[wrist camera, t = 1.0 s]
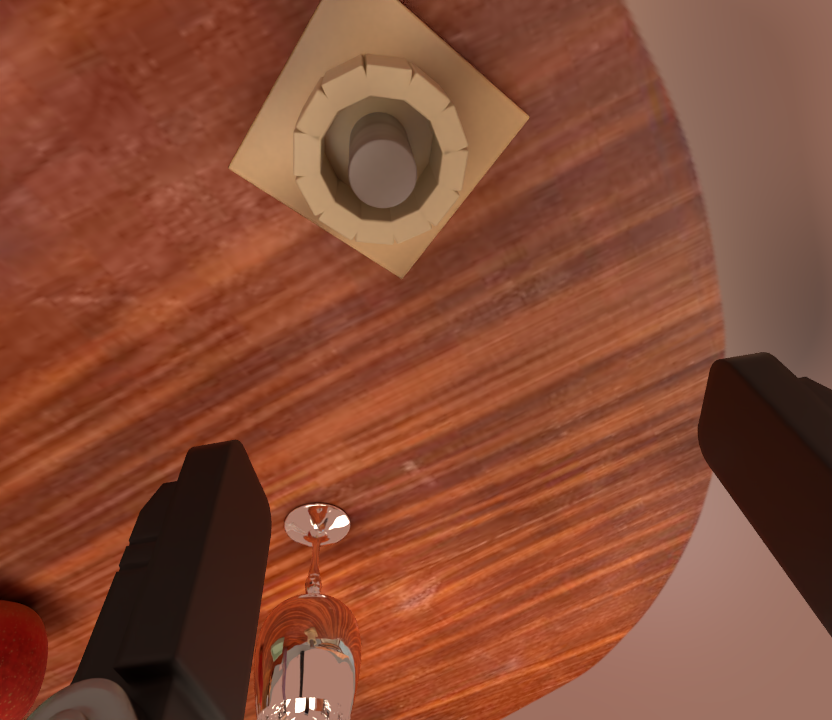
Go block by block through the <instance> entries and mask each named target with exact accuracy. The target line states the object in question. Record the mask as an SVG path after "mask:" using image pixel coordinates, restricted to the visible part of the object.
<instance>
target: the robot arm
mask: <svg viewBox="0 0 832 720" xmlns="http://www.w3.org/2000/svg"><path fill="white" fill-rule="evenodd" d="M698 440H699V445H700V448H701V451H702V454H703V456H704V458H705V460H706V462H707V463H708V465H709V466H710V468H711V469H712V471H713V472H714V473H715V475H716V476H717V478H718V479H719V480H720V482H721V483H722V485H723V486H724V487H725V489H726V490H727V491H728V493H729V494H730V496H731V497H732V499H733V500H734V501H735V503H736V504H737V505H738V507H739V508H740V510H741V511H742V512H743V514H744V515H745V517H746V518H747V519H748V521H749V522H750V524H751V525H752V526H753V528H754V529H755V531H756V532H757V533H758V535H759V536H760V538H761V539H762V540H763V542H764V543H765V545H766V546H767V547H768V549H769V550H770V552H771V553H772V554H773V556H774V557H775V559H776V560H777V561H778V563H779V564H780V566H781V567H782V568H783V570H784V571H785V572H786V574H787V575H788V577H789V578H790V579H791V581H792V582H793V584H794V585H795V587H796V588H797V589H798V591H799V592H800V593H801V595H802V596H803V598H804V599H805V600H806V602H807V603H808V605H809V606H810V607H811V609H812V610H813V612H814V613H815V614H816V616H817V617H818V619H819V620H820V621H821V623H822V624H823V626H824V627H825V628H826V630H827V631H828V633H829V634H830V635H831V637H832V390H831V389H829V388H827V387H825V386H823V385H821V384H819V383H817V382H815V381H813V380H811V379H809V378H807V377H802V378H797V377H796V376H795V375H794V374H793V373H792V372H791V371H790V370H789V369H788V368H786V367H785V366H784V365H783V364H782V363H781V362H780V361H779V360H778V359H777V358H776V357H774V356H773V355H771V354H769V353H766V352H760V353H755V354H749V355H743V356H737V357H731V358H725V359H719V360H716V361H715V362H714V363H713V364H712V366H711V369H710V372H709V377H708V382H707V386H706V391H705V396H704V400H703V405H702V410H701V415H700V419H699V424H698ZM270 538H271V513H270V507H269V503H268V500H267V497H266V495H265V493H264V491H263V488H262V486H261V484H260V482H259V479H258V477H257V475H256V473H255V471H254V468H253V466H252V464H251V462H250V460H249V457H248V455H247V453H246V451H245V449H244V447H243V445H242V444H241V442H240V441H238V440H231V441H225V442H219V443H213V444H208V445H202V446H196V447H192V448H191V449H189V451H188V452H187V455H186V457H185V460H184V463H183V466H182V469H181V472H180V475H179V477H178V480H177V481H175V482H169V483H163V484H162V485H161V487H160V488H159V489H158V490H157V491H156V493H155V494H154V495H153V496H152V498H151V499H150V500H149V501H148V502H147V504H146V505H145V506H144V507H143V508H142V510H141V511H140V513H139V516H138V519H137V521H136V524H135V526H134V529H133V531H132V534H131V536H130V539H129V542H130V544H129V546H126V549H125V551H124V554H123V556H122V559H121V561H120V564H119V567H120V570H119V572H116V574H115V577H114V579H113V582H112V584H111V587H110V589H109V592H108V594H107V597H106V599H105V602H104V604H103V607H102V609H101V612H100V614H99V617H98V619H97V622H96V625H95V627H94V630H93V632H92V635H91V637H90V640H89V642H88V645H87V647H86V650H85V652H84V655H83V657H82V660H81V662H80V665H79V667H78V670H77V672H76V674H75V676H74V678H73V681H72V682H71V684H70V685H69V686H67V687H65V688H64V689H62V690H60V691H58V692H57V693H55V694H54V695H52V696H51V697H50V698H48V699H47V700H46V701H45V702H43V703H42V704H41V705H40V706H39V707H38V708H37V709H36V710H35V711H34V712H33V713H32V714H31V715H30V716H29V717H28V718H27V719H26V720H244V713H245V706H246V700H247V693H248V686H249V679H250V673H251V666H252V659H253V652H254V646H255V639H256V632H257V625H258V619H259V612H260V605H261V599H262V592H263V585H264V578H265V572H266V565H267V558H268V551H269V545H270Z"/></svg>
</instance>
